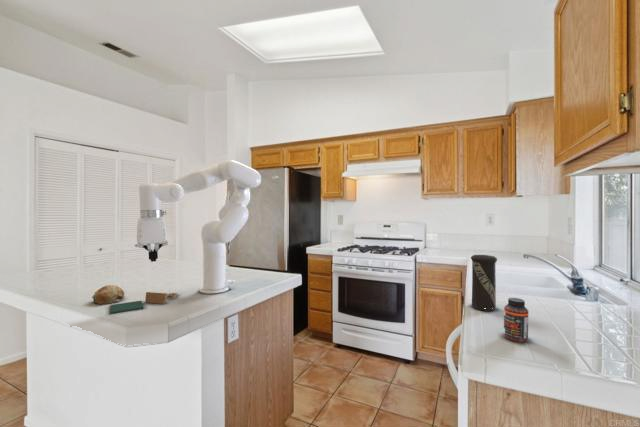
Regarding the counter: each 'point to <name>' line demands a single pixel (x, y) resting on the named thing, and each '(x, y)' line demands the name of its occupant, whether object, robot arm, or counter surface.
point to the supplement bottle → (516, 320)
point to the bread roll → (108, 294)
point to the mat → (126, 307)
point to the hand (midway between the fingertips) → (153, 261)
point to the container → (483, 282)
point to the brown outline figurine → (158, 297)
